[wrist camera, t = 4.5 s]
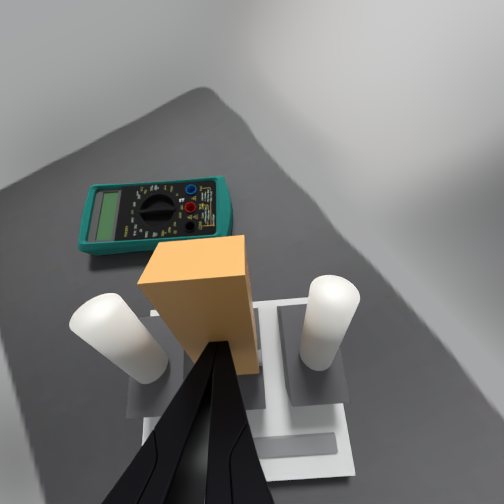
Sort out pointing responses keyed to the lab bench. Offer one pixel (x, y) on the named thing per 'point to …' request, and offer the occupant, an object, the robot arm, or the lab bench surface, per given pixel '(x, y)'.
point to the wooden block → (205, 296)
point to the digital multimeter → (153, 214)
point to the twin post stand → (252, 385)
